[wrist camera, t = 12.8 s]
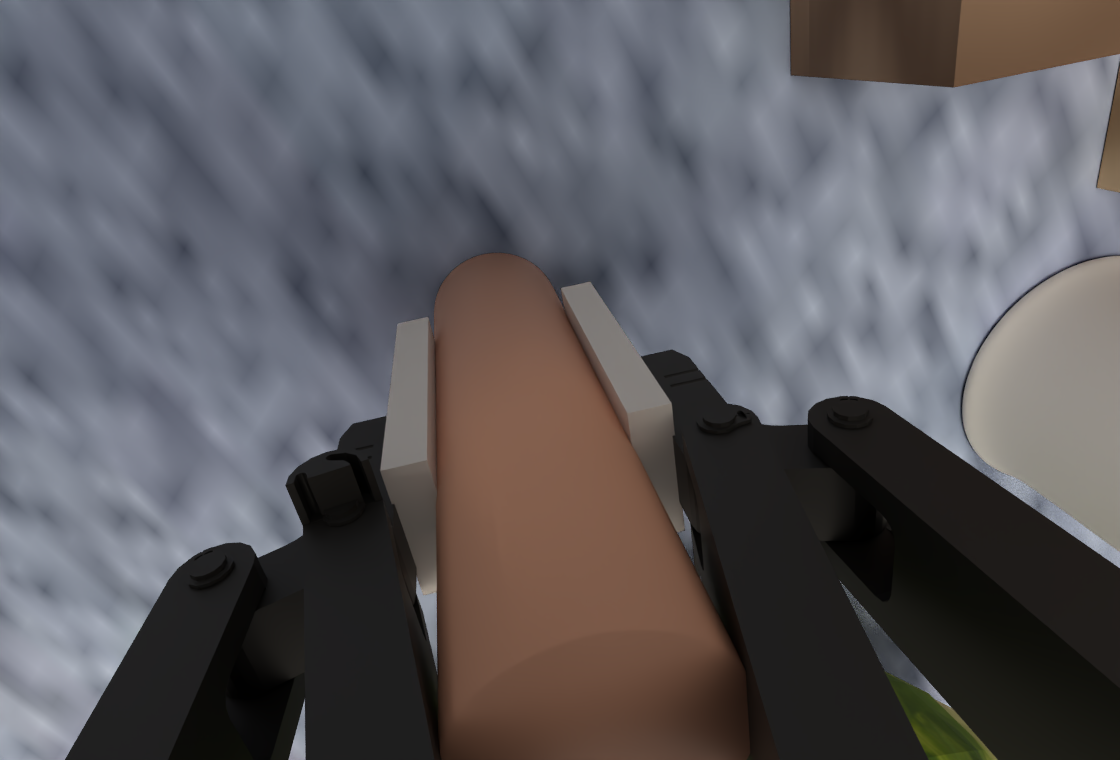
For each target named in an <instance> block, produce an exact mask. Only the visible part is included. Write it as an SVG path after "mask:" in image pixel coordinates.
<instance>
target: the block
mask: <svg viewBox="0 0 1120 760" xmlns="http://www.w3.org/2000/svg"><path fill="white" fill-rule="evenodd" d="M790 14H791V75H795V76H808V77H822V78H835V79H849V80H862V81H876V82H889V83H902V84H916V85H929V86H943V87H958V86H963V85H968V84H973V83H978V82H983V81H988V80H992V79H997V78H1002V77H1007V76H1012V75H1017V74H1022V73H1027V72H1032V71H1037V70H1042V69H1047V68H1052V67H1057V66H1062V65H1066V64H1071V63H1076V62H1081V61H1086V60H1091V59H1096V58H1101V57H1106V56H1111V55H1116V54H1120V0H790Z"/></svg>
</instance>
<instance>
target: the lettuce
mask: <svg viewBox="0 0 1120 760" xmlns="http://www.w3.org/2000/svg"><path fill="white" fill-rule="evenodd" d="M885 673H886V675H887V677H888V679H889V681H890V683H891V685H892V687H893V689H894V691H895V693H896V695H897V697H898V699H899V701H900V703H901V705H902V707H903V709H904V711H905V713H906V715H907V717H908V719H909V721H910V723H911V725H912V727H913V729H914V731H915V733H916V735H917V737H918V739H919V741H920V743H921V745H922V747H923V749H924V751H925V753H926V755H927V757H928V759H929V760H997V758H996V757H995V756H994V755H993V754H992V753H991V752H990V750H989V749H988V748H987V747H986V746H985V745H984V744H983V742H982V741H981V740H980V739H979V738H978V737H977V736H976V735H975V733H974V732H973V731H972V730H971V729H970V728H969V727H968V725H967V724H966V723H965V722H964V721H963V720H962V719H961V717H960V716H959V715H958V714H957V713H956V712H955V711H954V710H953V709H952V708H950V707H948V706H947V705H945V704H943V703H941V702H939V701H937V700H935V699H934V698H932V697H931V696H930V695H929V694H928V693H926V692H924V691H922V690H921V689H919V688H917V687H915V686H913V685H911V684H909V683H907V682H905V681H903V680H901V679H899V678H897V677H895V676H893V675H891V674H889V673H887V672H885Z"/></svg>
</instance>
